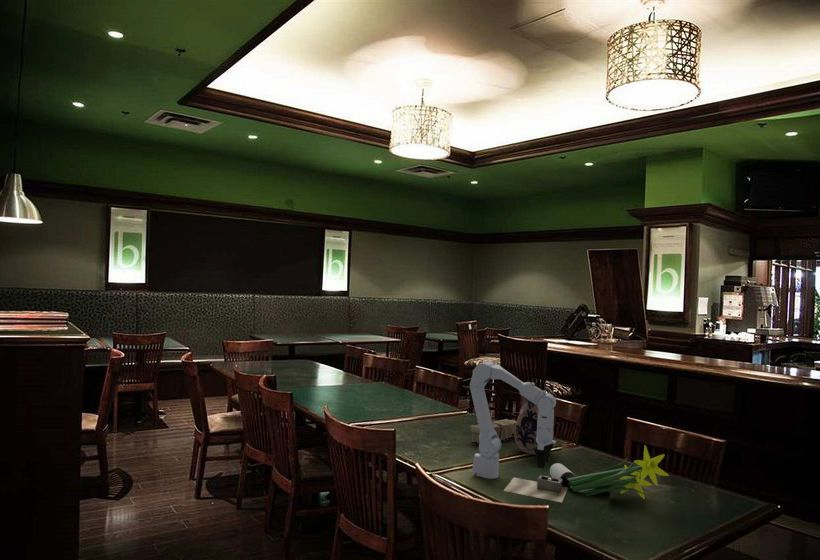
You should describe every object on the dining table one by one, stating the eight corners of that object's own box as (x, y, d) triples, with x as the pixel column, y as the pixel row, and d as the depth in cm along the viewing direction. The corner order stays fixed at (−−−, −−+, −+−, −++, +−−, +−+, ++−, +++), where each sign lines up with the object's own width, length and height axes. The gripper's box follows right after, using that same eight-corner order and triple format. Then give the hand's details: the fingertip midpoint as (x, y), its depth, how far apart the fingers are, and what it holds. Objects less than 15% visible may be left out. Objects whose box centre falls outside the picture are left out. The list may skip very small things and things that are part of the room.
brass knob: (546, 489, 199) (546, 478, 199) (547, 487, 200) (547, 477, 200) (551, 490, 198) (551, 479, 198) (552, 488, 199) (552, 478, 199)
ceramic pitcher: (508, 453, 246) (511, 396, 246) (521, 442, 264) (524, 390, 264) (547, 460, 237) (550, 402, 238) (558, 449, 256) (561, 395, 256)
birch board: (503, 494, 194) (503, 490, 195) (513, 481, 209) (513, 477, 209) (561, 507, 186) (561, 502, 186) (568, 492, 201) (568, 487, 201)
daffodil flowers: (562, 486, 209) (651, 466, 210) (577, 521, 197) (672, 498, 198) (561, 457, 200) (654, 435, 201) (578, 491, 188) (677, 468, 189)
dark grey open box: (536, 488, 198) (537, 479, 198) (539, 484, 203) (540, 475, 203) (559, 493, 195) (560, 483, 195) (561, 488, 200) (562, 479, 200)
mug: (545, 474, 214) (555, 484, 202) (554, 459, 215) (565, 468, 203) (567, 487, 214) (578, 498, 202) (576, 472, 215) (588, 482, 203)
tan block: (506, 435, 280) (468, 442, 260) (507, 418, 280) (470, 424, 260) (519, 439, 274) (481, 446, 254) (520, 422, 275) (483, 427, 255)
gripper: (553, 433, 193) (550, 472, 193) (559, 425, 206) (557, 461, 206) (532, 430, 196) (530, 468, 196) (540, 422, 209) (538, 458, 209)
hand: (542, 464), depth 201 cm, fingers open, 7 cm apart
